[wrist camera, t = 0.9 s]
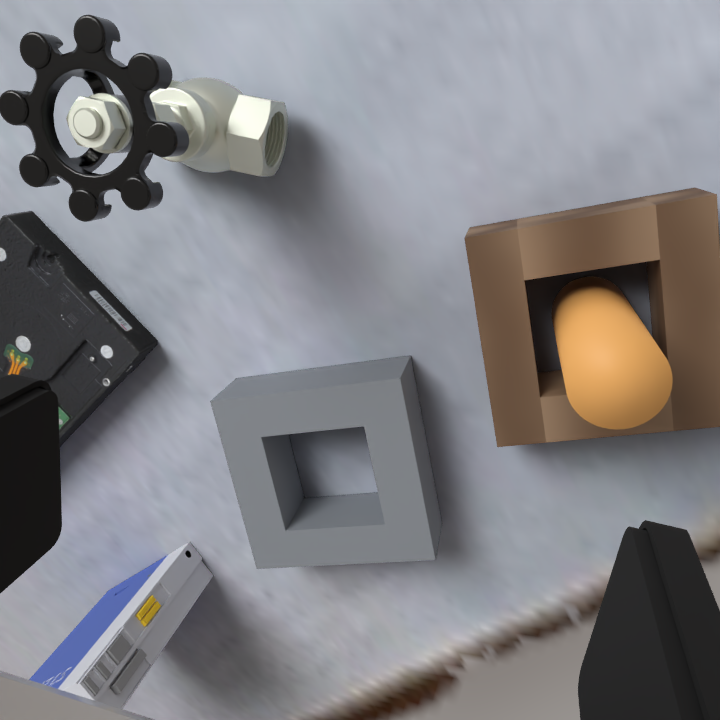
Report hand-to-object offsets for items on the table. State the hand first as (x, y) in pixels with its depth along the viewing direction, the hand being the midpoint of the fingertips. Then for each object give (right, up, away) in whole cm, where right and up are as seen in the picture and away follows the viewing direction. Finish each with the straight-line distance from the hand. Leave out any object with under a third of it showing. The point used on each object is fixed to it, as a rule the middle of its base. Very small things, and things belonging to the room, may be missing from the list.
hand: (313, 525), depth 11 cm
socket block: (0, -2, +27) cm, 27 cm away
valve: (-6, +14, +23) cm, 28 cm away
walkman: (-12, -12, +33) cm, 37 cm away
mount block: (+12, +5, +22) cm, 25 cm away
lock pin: (+12, +5, +22) cm, 25 cm away
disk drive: (-19, +3, +30) cm, 36 cm away
